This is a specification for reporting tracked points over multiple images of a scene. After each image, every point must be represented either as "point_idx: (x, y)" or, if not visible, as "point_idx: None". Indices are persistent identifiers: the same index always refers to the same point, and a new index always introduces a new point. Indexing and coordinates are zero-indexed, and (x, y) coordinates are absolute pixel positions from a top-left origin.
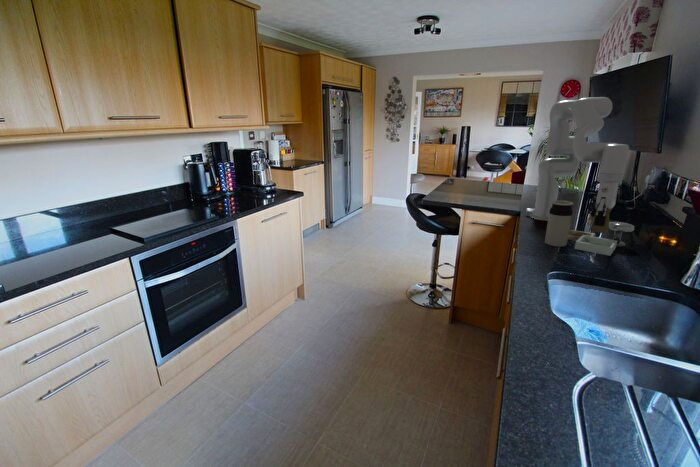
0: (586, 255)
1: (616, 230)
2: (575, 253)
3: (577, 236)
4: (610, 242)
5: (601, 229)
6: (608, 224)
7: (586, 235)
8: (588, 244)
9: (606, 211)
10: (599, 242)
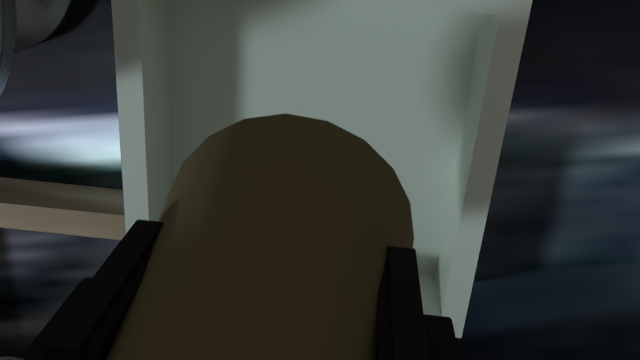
0: (620, 180)
1: (13, 9)
2: (603, 266)
3: None
4: (152, 19)
5: (408, 232)
6: (291, 192)
7: None
8: (483, 225)
9: None
10: (162, 121)
